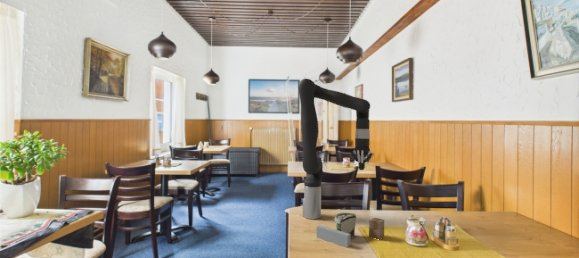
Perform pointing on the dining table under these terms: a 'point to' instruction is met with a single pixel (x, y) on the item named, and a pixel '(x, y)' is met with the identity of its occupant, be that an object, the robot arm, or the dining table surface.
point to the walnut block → (376, 228)
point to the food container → (346, 223)
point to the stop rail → (333, 236)
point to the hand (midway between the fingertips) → (361, 169)
